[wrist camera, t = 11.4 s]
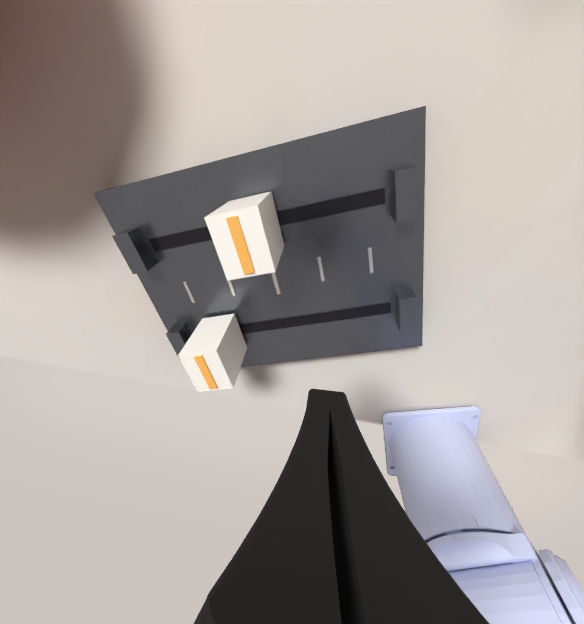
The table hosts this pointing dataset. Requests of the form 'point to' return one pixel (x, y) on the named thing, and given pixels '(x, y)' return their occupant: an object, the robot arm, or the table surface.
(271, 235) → the near fader
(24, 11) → the table surface
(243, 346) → the far fader
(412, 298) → the console
